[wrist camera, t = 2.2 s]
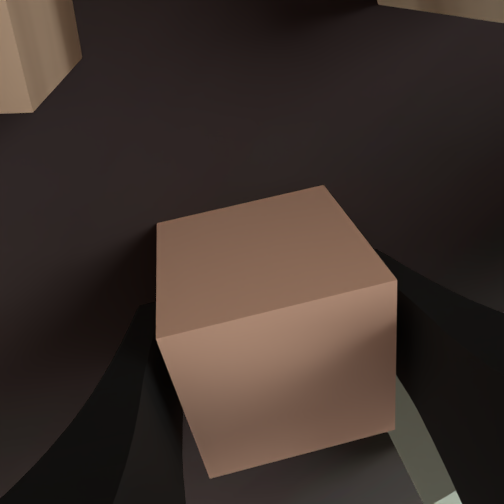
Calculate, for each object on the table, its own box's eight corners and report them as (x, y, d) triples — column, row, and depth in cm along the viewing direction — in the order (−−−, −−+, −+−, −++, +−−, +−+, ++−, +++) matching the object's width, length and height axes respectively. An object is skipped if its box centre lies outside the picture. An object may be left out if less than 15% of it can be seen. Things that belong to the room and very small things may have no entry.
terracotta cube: (322, 183, 13) (397, 280, 9) (333, 310, 16) (394, 429, 12) (156, 222, 13) (155, 339, 9) (196, 344, 16) (209, 478, 12)
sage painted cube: (470, 318, 18) (568, 426, 13) (514, 377, 20) (608, 484, 16) (365, 387, 19) (425, 508, 14) (419, 436, 21) (483, 550, 17)
